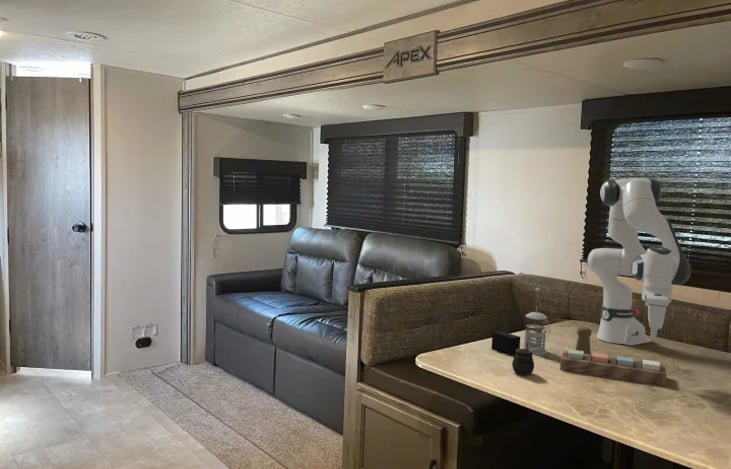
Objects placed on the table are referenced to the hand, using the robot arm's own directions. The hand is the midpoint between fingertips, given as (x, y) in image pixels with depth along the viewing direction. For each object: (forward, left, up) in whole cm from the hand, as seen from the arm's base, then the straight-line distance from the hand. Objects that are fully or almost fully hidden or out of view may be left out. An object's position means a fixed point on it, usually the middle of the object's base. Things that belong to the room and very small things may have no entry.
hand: (653, 336), depth 194 cm
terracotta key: (+11, -11, -12) cm, 20 cm away
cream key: (0, 0, -12) cm, 12 cm away
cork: (+3, -29, -15) cm, 32 cm away
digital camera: (+30, -40, -15) cm, 52 cm away
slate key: (+6, -6, -11) cm, 14 cm away
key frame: (+8, -9, -15) cm, 19 cm away
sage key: (+17, -17, -12) cm, 27 cm away
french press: (+17, -39, -15) cm, 45 cm away
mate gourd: (+39, -17, -15) cm, 45 cm away
